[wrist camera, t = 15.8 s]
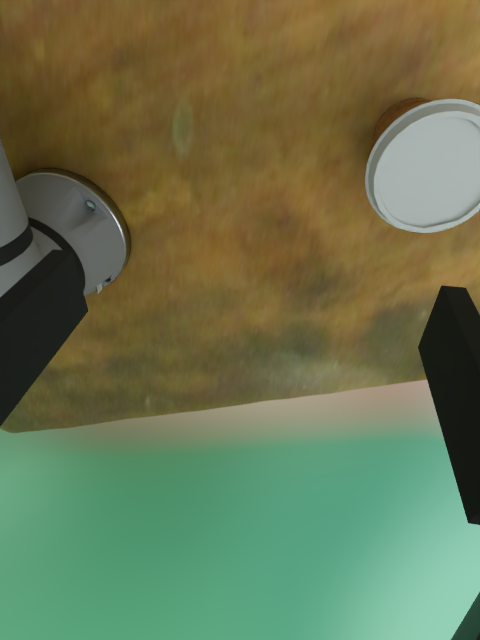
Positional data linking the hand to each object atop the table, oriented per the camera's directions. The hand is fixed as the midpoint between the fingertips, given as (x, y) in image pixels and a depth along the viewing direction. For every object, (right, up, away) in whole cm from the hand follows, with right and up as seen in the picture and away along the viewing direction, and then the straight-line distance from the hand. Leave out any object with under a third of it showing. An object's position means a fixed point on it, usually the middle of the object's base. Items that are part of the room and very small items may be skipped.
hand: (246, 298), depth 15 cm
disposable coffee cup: (+16, +17, +23) cm, 33 cm away
